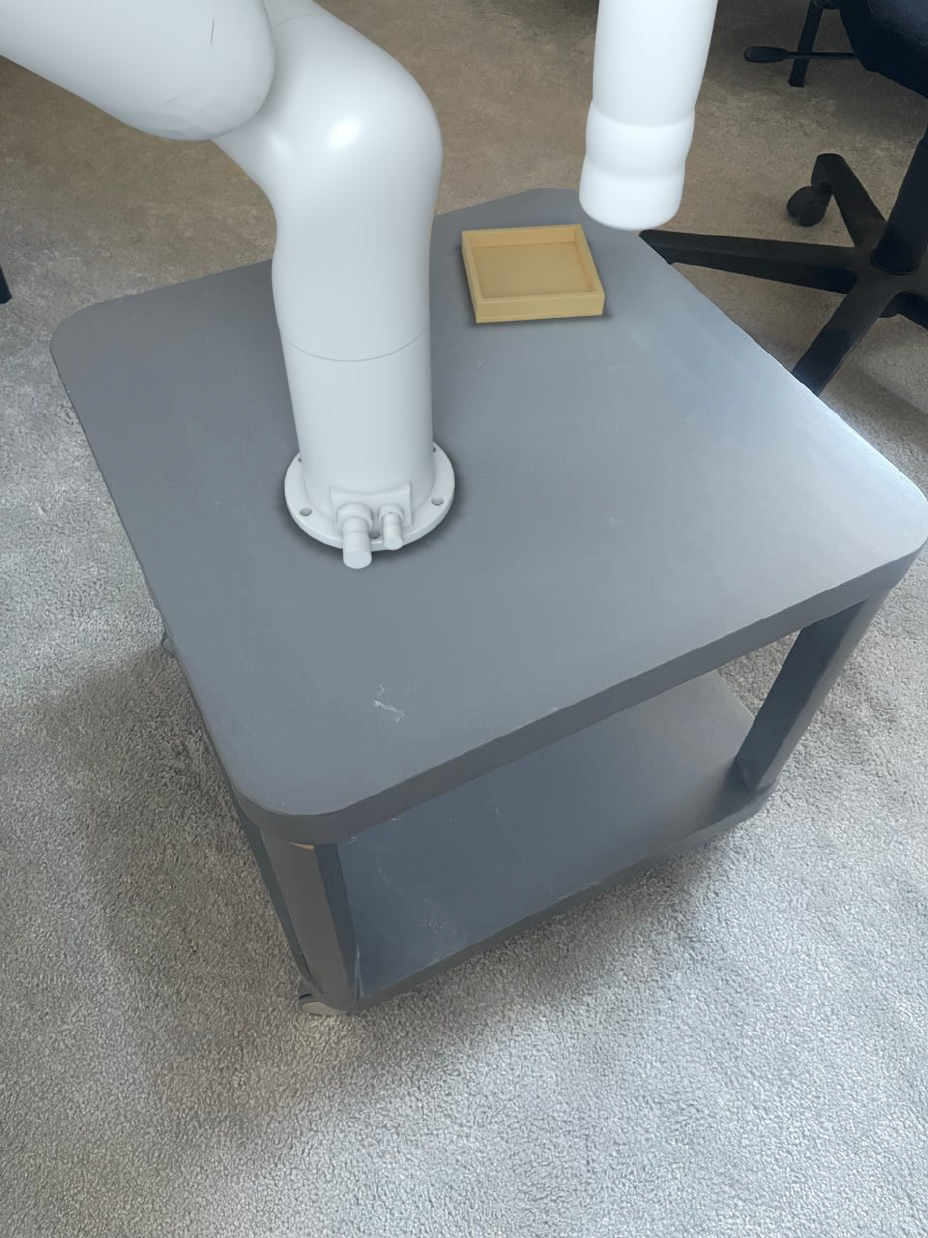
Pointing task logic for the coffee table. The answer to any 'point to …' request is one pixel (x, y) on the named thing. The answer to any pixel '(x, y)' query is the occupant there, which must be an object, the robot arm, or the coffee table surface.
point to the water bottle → (643, 108)
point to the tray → (531, 273)
